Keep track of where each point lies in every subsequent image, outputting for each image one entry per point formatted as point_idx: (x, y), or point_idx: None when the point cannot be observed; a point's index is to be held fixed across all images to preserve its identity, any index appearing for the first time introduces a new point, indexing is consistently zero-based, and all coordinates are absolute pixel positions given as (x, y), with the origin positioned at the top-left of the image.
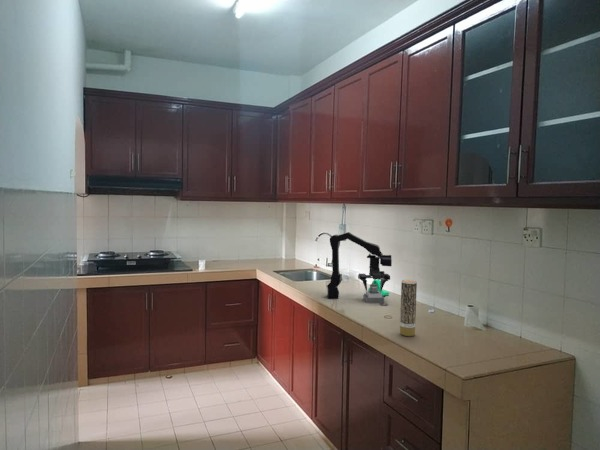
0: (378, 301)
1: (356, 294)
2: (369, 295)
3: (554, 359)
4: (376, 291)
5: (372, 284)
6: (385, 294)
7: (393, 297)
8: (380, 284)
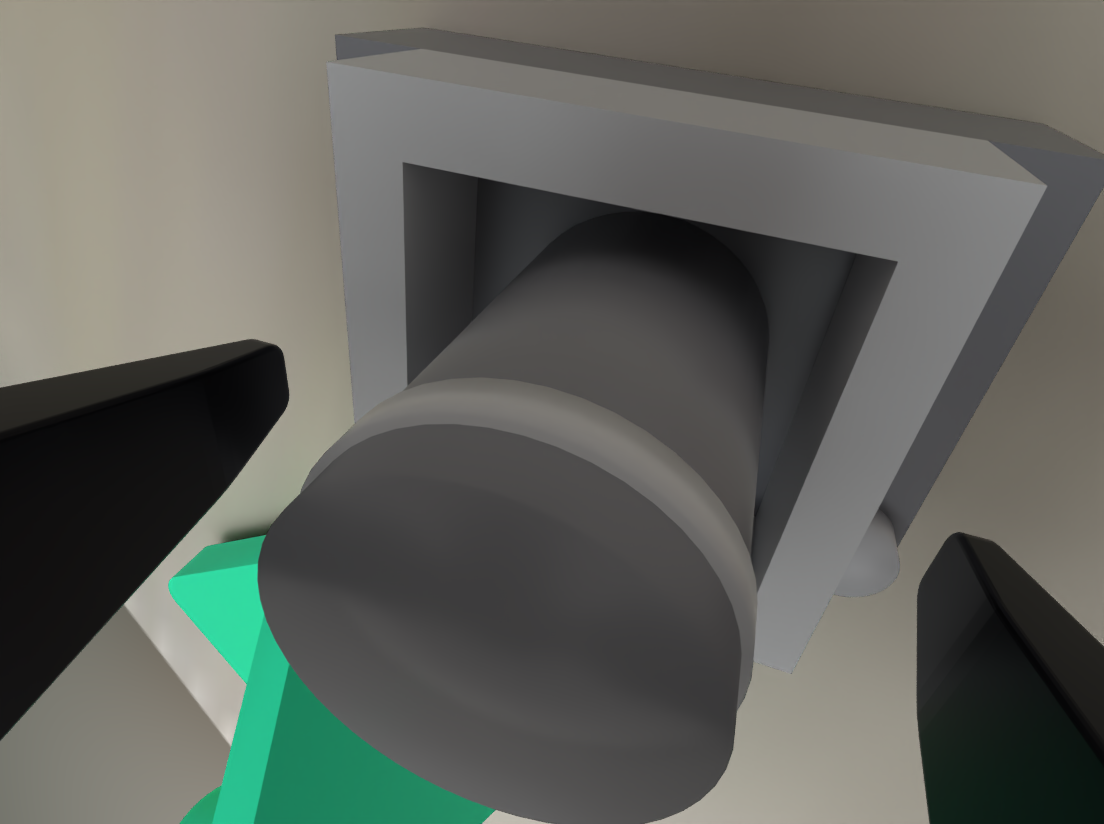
0: (583, 57)
1: (757, 794)
2: (978, 156)
3: None
4: (501, 300)
5: (513, 771)
6: (257, 544)
7: None
8: (211, 799)
